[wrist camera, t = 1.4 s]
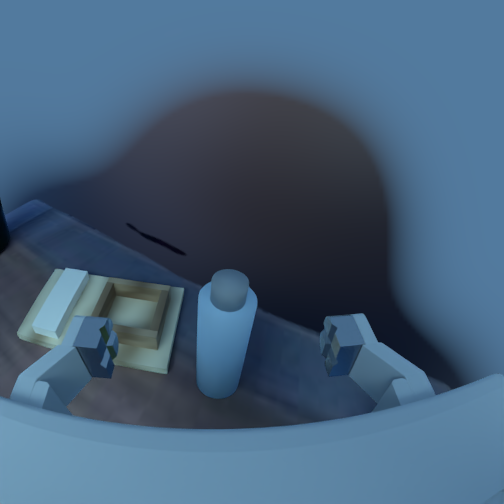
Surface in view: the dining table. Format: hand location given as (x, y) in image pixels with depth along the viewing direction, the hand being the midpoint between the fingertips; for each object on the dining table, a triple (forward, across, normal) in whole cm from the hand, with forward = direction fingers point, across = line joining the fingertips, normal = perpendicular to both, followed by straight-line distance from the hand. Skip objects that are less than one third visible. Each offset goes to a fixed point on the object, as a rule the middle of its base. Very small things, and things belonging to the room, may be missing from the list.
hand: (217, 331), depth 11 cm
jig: (+21, +17, +20) cm, 34 cm away
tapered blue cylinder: (+13, +1, +22) cm, 26 cm away
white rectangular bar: (+21, +23, +18) cm, 36 cm away
